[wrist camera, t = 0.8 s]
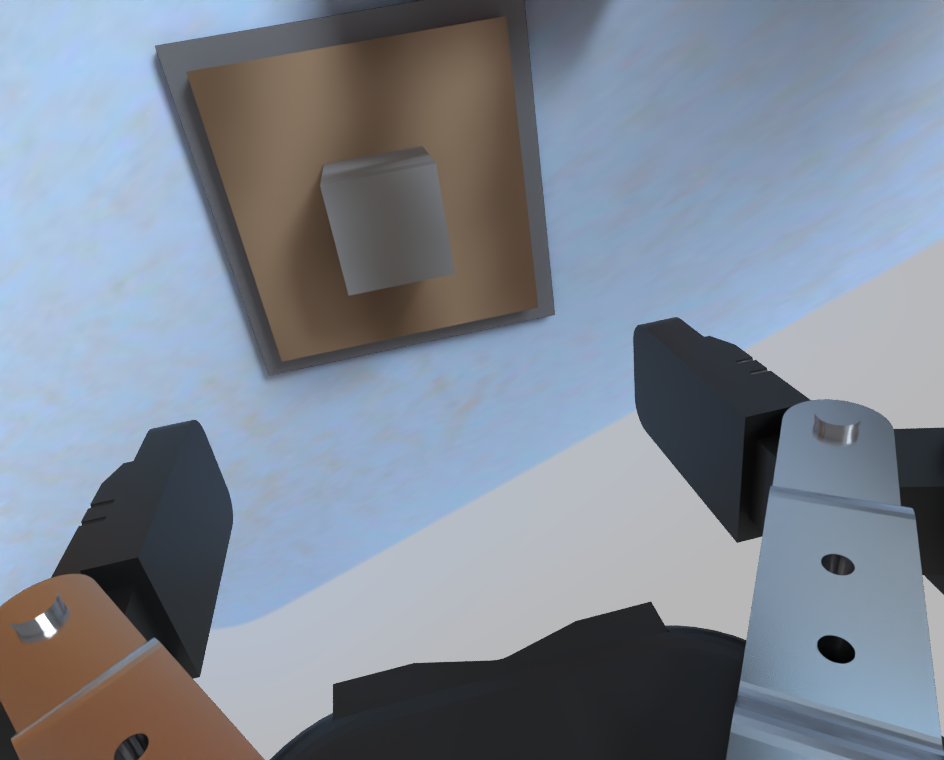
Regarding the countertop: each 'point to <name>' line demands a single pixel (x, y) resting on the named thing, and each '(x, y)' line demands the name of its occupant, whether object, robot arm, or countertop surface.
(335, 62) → the lid
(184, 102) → the mat
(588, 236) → the countertop surface
